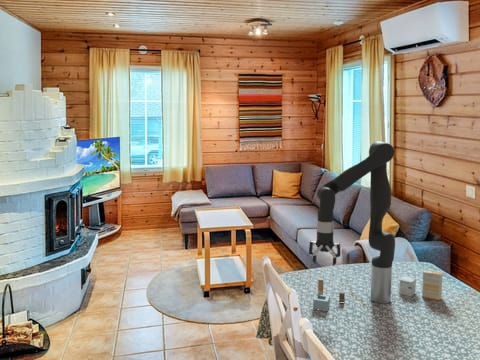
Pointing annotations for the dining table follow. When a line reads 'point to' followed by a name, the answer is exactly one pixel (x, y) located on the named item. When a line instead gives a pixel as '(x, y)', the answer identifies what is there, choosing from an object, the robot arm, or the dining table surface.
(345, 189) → the robot arm
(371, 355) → the dining table surface
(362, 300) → the dining table surface
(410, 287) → the skincare box
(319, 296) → the hole block
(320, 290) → the long dowel
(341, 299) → the short dowel
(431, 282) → the supplement box
